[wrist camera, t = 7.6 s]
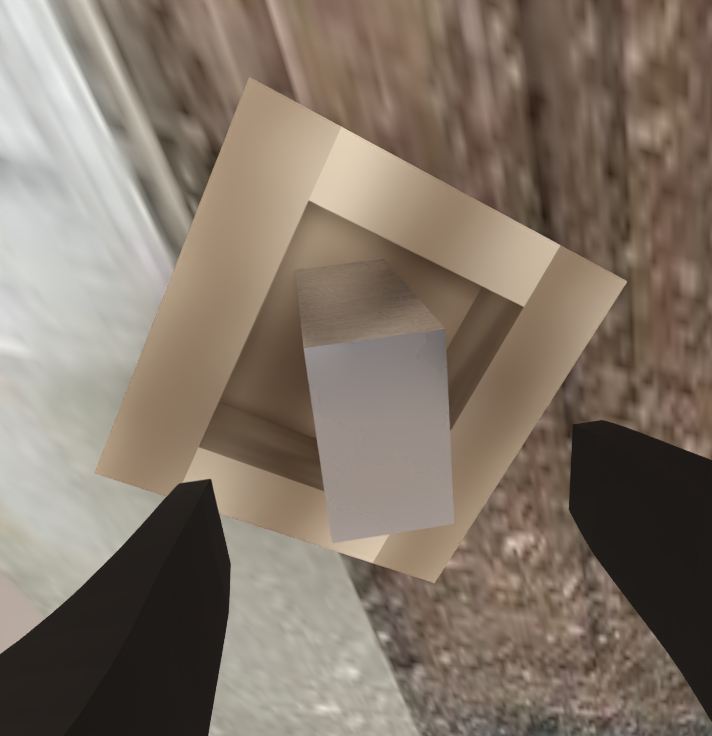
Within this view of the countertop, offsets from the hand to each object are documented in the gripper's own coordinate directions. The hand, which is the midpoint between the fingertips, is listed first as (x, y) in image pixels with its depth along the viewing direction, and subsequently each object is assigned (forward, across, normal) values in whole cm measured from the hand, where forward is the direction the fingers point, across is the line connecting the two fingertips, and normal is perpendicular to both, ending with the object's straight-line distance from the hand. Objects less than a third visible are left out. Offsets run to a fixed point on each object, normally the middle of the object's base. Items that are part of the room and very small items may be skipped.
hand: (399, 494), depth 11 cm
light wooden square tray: (+10, 0, 0) cm, 10 cm away
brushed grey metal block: (+10, 0, 0) cm, 10 cm away
